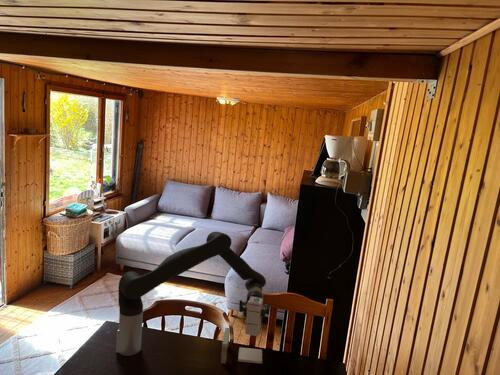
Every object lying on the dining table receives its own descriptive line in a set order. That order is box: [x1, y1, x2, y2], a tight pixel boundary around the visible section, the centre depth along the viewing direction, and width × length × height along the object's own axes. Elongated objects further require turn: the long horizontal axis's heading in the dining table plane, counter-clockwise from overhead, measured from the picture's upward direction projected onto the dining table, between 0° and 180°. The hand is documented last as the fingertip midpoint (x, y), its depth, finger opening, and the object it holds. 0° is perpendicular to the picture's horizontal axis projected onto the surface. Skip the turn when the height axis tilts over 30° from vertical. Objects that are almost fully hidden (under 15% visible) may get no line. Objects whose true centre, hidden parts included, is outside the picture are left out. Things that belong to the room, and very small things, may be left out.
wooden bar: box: [221, 327, 231, 349], centre depth 152 cm, size 2×12×2 cm, turn 178°
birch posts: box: [220, 331, 231, 364], centre depth 152 cm, size 2×13×7 cm, turn 178°
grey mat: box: [237, 347, 263, 365], centre depth 153 cm, size 10×8×1 cm
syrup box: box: [244, 297, 264, 337], centre depth 150 cm, size 6×6×14 cm
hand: (254, 315), depth 147 cm, fingers closed on syrup box, 6 cm apart
